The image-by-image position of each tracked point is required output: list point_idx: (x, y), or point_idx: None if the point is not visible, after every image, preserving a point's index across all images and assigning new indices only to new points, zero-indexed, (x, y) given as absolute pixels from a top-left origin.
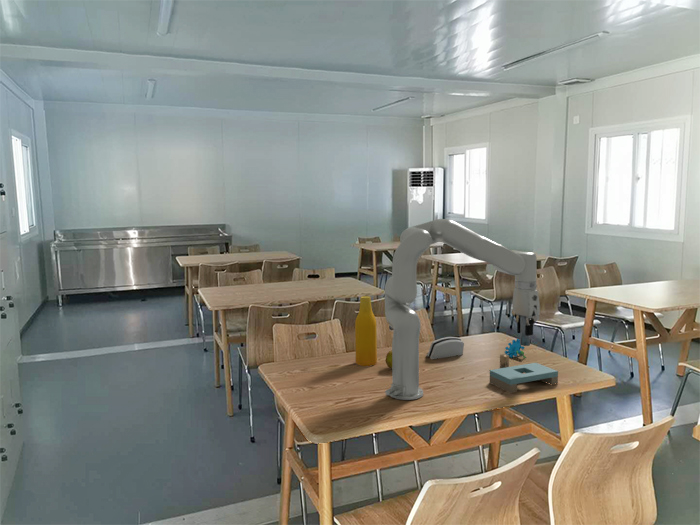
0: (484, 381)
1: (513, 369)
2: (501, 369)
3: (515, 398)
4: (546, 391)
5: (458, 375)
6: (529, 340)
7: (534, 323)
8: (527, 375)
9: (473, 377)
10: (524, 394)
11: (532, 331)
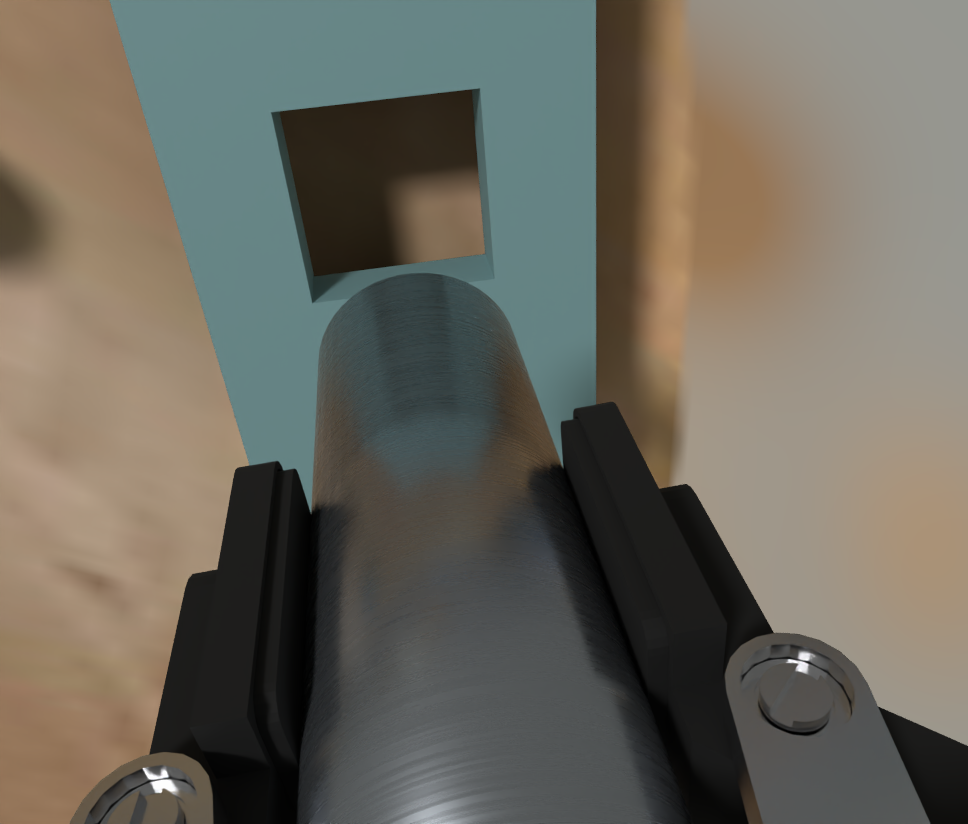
0: (224, 462)
1: (310, 293)
2: (276, 415)
3: (679, 418)
4: (680, 63)
5: (11, 587)
6: (528, 377)
7: (854, 669)
8: (568, 263)
9: (89, 502)
10: (644, 311)
11: (700, 510)
